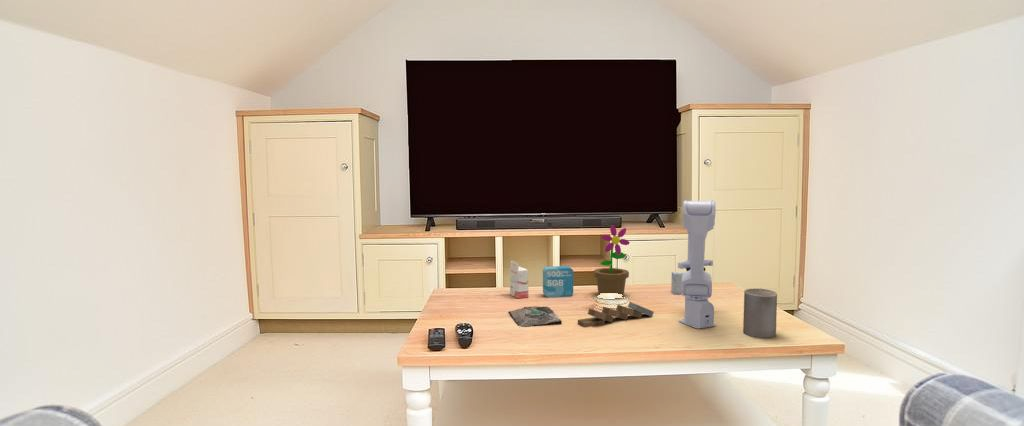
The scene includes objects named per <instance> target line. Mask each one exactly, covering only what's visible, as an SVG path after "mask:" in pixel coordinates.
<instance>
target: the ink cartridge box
mask: <svg viewBox="0 0 1024 426" xmlns="http://www.w3.org/2000/svg"><path fill="white" fill-rule="evenodd" d="M509 263H510V264H509V294H510V296H512V297H514V298H516V299H526V298H529V269H527V268H524V267H522V266H520V264H519V263H518V262H517V261H514V260H510V261H509Z"/></svg>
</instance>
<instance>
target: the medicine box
mask: <svg viewBox="0 0 1024 426" xmlns="http://www.w3.org/2000/svg"><path fill="white" fill-rule="evenodd" d="M685 272H686V271H673V272H671V282H670V283H671V288H670V291H671V293H672V295H681V283H682V275H683V273H685Z"/></svg>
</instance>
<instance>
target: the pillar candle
mask: <svg viewBox="0 0 1024 426" xmlns="http://www.w3.org/2000/svg"><path fill="white" fill-rule="evenodd" d="M777 306H778V293H777V292H776V291H774V290H770V289H765V288H762V287H760V288H747V289H745V290H744V296H743V321H742V323H743V325H742V326H743V327H742V331H743V332H742V333H743V334H744V335H746V336H749V337H753V338H758V339H767V338H769V339H770V338H772V339H773V338H775V337H776V336H777V308H778V307H777Z"/></svg>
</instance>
